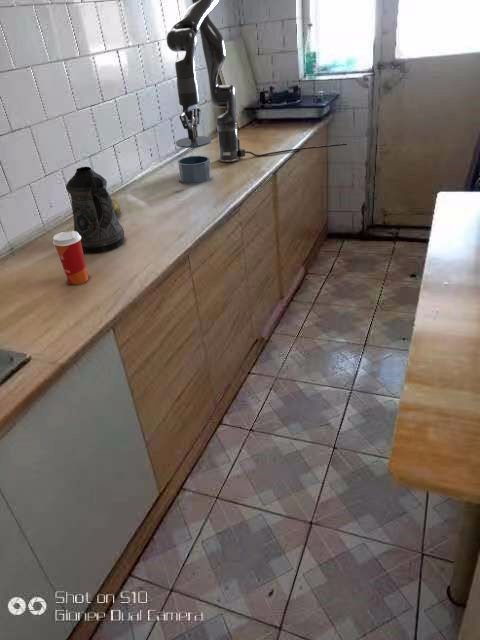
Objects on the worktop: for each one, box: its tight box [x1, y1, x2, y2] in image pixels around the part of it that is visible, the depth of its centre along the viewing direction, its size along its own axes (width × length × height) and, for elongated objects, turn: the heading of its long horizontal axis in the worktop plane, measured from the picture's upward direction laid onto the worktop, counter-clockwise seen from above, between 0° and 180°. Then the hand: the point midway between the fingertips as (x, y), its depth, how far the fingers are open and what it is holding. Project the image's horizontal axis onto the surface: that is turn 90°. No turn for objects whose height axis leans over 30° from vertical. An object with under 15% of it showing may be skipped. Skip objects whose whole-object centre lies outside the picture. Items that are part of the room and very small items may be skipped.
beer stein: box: [65, 166, 125, 255], centre depth 152 cm, size 16×19×25 cm
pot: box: [177, 155, 212, 184], centre depth 208 cm, size 14×14×8 cm
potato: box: [112, 199, 121, 216], centre depth 178 cm, size 8×13×8 cm, turn 161°
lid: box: [175, 126, 213, 149], centre depth 188 cm, size 15×15×7 cm
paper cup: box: [52, 230, 89, 286], centre depth 135 cm, size 8×8×14 cm
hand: (193, 138), depth 189 cm, fingers closed on lid, 2 cm apart
